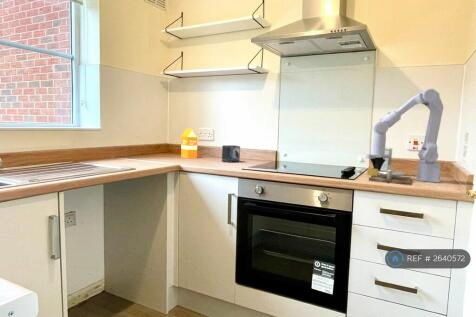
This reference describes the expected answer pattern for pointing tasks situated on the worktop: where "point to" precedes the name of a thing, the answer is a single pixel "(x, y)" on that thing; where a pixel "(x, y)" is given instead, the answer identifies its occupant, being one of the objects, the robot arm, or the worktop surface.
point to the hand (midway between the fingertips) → (376, 172)
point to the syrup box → (387, 159)
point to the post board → (391, 179)
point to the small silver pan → (383, 172)
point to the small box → (230, 153)
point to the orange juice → (189, 144)
